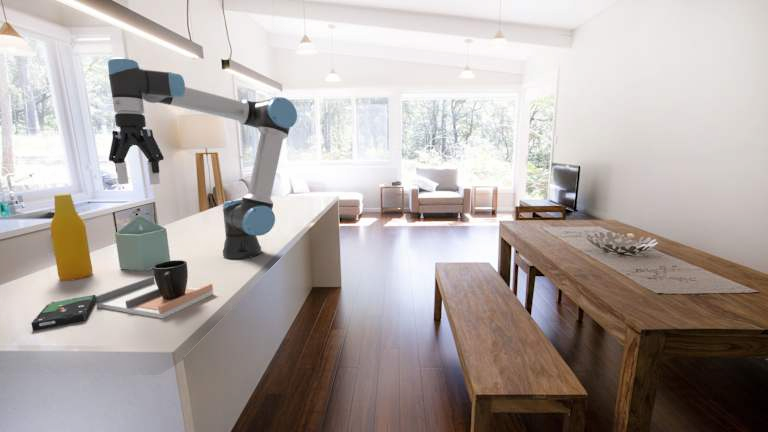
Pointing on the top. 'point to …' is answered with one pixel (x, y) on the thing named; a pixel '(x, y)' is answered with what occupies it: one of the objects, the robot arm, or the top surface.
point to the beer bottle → (69, 240)
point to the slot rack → (149, 299)
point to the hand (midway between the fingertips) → (139, 184)
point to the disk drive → (64, 313)
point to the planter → (142, 245)
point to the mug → (171, 278)
